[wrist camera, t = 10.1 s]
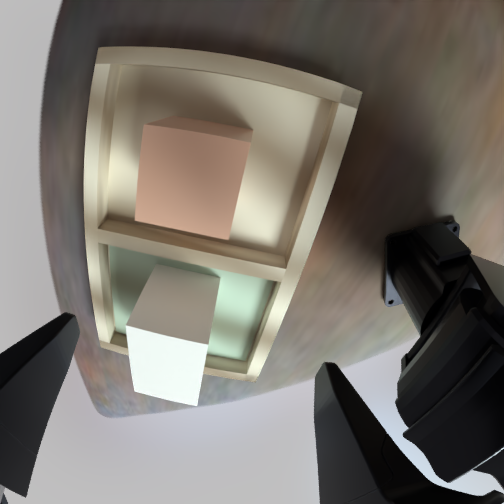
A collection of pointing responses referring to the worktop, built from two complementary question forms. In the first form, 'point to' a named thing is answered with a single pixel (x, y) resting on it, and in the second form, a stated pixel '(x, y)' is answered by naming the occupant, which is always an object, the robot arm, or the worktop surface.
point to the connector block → (171, 333)
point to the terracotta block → (191, 174)
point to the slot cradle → (249, 200)
